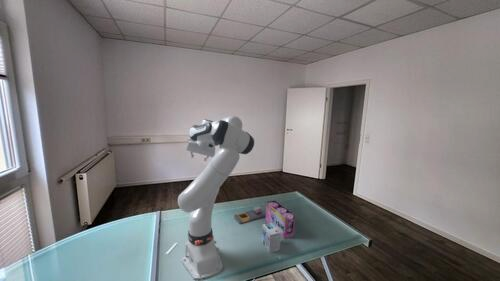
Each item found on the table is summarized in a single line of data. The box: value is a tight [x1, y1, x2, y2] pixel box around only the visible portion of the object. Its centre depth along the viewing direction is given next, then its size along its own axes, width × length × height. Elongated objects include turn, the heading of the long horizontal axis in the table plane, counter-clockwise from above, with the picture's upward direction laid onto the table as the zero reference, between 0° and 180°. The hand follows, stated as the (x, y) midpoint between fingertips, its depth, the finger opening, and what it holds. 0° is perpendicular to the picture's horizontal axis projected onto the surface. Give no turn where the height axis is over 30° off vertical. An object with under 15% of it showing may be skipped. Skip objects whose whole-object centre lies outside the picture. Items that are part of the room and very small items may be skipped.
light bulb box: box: [261, 222, 282, 254], centre depth 109 cm, size 11×7×11 cm, turn 21°
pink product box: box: [265, 200, 296, 239], centre depth 127 cm, size 24×8×14 cm, turn 26°
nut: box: [253, 205, 263, 215], centre depth 142 cm, size 4×4×6 cm
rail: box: [233, 209, 266, 225], centre depth 139 cm, size 8×22×3 cm, turn 120°
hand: (198, 159), depth 140 cm, fingers open, 8 cm apart
